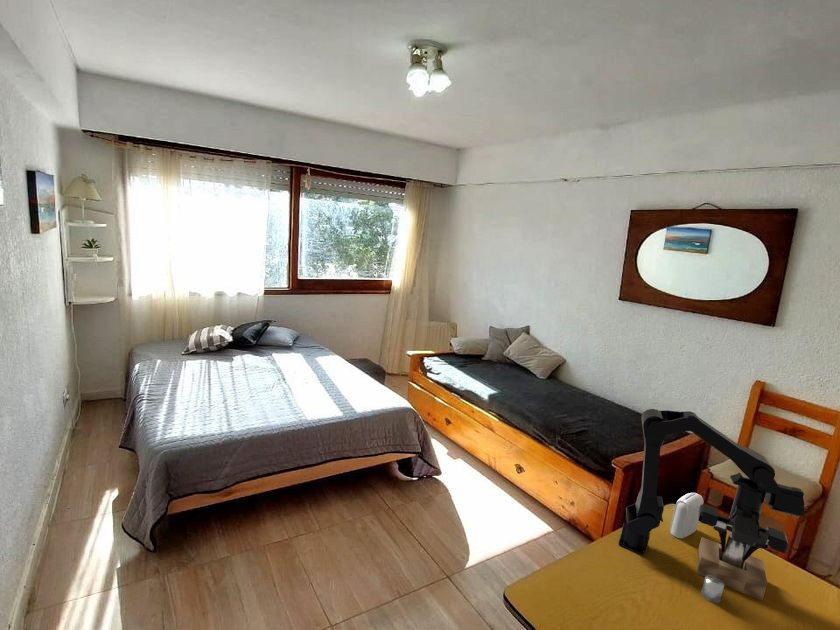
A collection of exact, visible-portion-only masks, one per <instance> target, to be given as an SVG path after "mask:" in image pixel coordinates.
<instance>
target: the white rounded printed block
mask: <svg viewBox="0 0 840 630" xmlns="http://www.w3.org/2000/svg"><path fill="white" fill-rule="evenodd" d="M702 504H704V498H703V496H702V495H701V494H698V493H696V492H690V493H689V492H688V493H686V494H685V495H683V496H681V497H680V498H679V499H678V500H677V501H676V503H675V506H674V509H673V510H674V511H673V514H672V518H671V522H670V526H669V527H670V528H669V532H670V534H671V535H672V536H673V537H675V538H677V539H685V538H687V537H688V536H690V535H692V534H694V533H695V532H696V531H697V528H698V526H699V522H700V521H699V520H698V515H699V508H700V505H702Z"/></svg>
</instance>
